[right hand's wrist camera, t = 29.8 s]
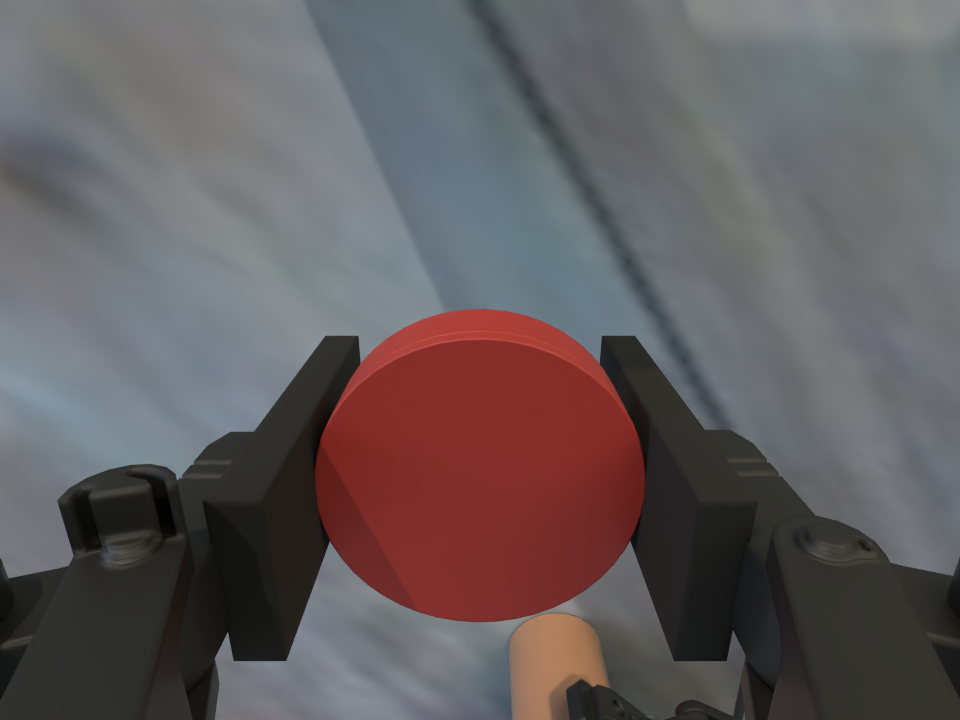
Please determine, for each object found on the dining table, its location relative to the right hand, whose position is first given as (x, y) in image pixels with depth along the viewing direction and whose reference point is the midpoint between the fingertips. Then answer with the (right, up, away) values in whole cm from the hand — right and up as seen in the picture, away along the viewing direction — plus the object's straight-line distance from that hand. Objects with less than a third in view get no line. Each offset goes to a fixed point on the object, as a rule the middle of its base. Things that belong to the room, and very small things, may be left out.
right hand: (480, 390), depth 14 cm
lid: (0, -1, -4) cm, 4 cm away
